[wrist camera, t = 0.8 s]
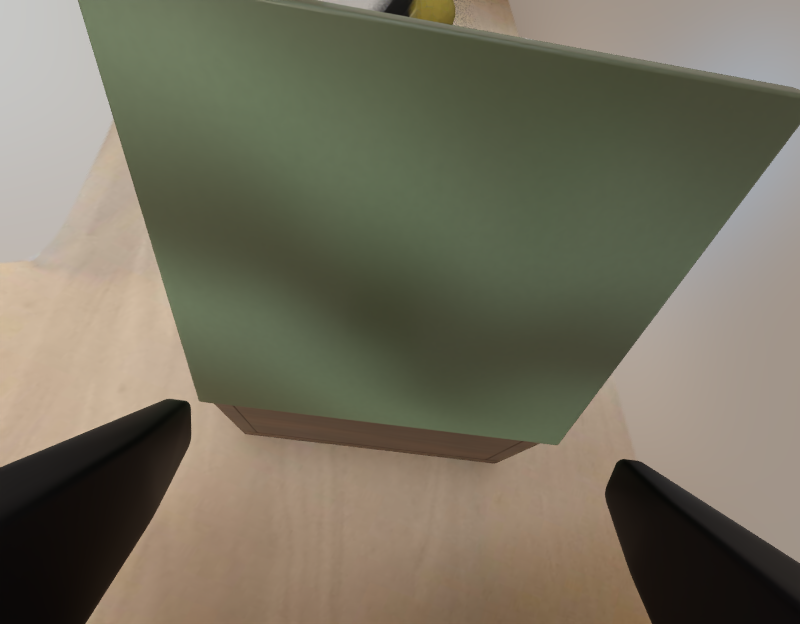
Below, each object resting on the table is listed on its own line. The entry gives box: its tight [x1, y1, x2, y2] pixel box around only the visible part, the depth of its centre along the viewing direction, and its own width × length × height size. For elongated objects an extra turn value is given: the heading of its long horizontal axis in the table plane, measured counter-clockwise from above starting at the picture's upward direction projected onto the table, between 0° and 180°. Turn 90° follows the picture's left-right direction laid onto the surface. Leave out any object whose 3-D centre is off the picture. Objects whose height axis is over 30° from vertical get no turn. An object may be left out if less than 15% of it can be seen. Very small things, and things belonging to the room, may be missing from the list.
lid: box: [78, 0, 800, 445], centre depth 12 cm, size 12×14×1 cm
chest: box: [214, 403, 539, 463], centre depth 22 cm, size 12×14×7 cm
